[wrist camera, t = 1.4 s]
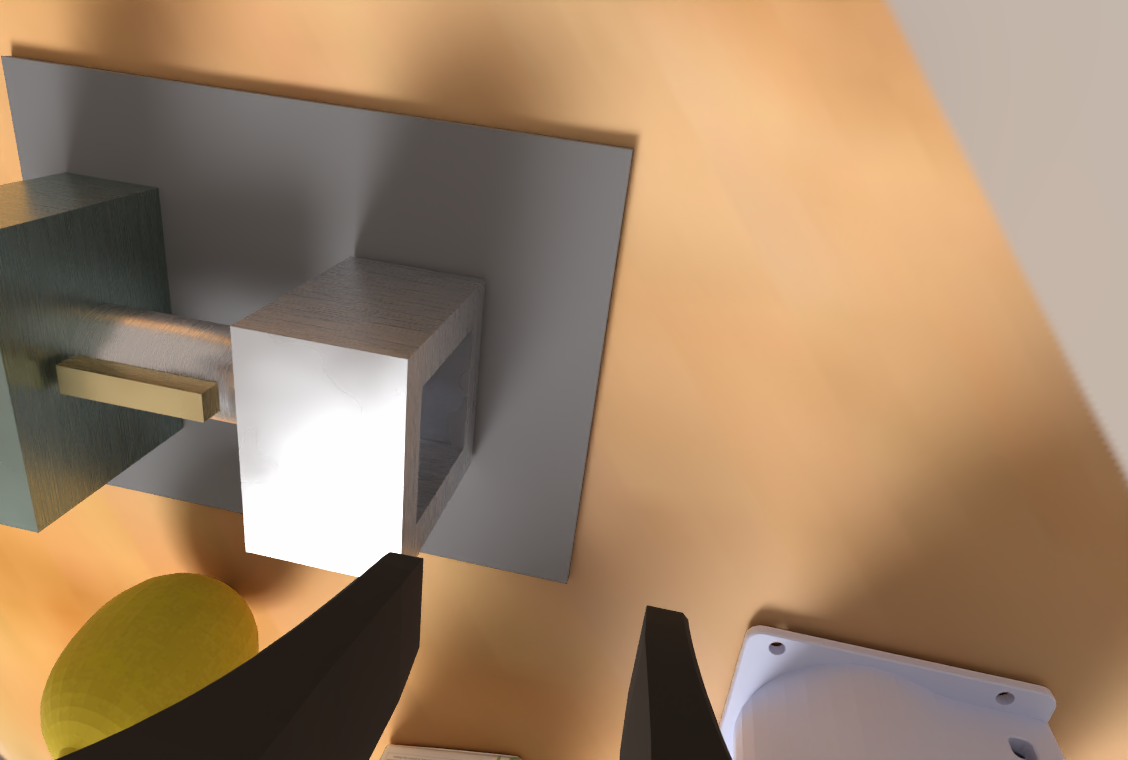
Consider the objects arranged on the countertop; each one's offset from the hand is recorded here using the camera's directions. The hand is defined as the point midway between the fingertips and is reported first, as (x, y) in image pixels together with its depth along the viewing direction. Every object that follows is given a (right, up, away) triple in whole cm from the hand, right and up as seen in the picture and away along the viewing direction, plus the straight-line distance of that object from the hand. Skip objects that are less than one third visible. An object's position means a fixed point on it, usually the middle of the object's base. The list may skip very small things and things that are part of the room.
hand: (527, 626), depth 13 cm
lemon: (-12, -4, +16) cm, 20 cm away
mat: (-7, +6, +11) cm, 14 cm away
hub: (-4, +5, +10) cm, 12 cm away
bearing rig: (-11, +6, +11) cm, 17 cm away
